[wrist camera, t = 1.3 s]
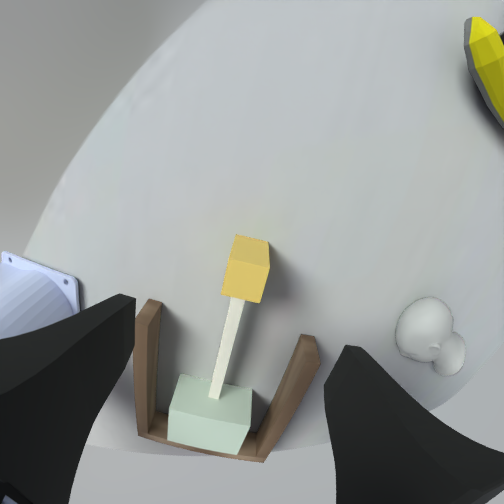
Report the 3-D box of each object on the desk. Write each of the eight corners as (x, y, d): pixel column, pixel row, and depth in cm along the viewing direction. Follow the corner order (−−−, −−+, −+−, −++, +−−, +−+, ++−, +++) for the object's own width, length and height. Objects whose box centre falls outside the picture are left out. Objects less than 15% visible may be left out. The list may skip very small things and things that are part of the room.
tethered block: (176, 407, 23) (167, 440, 20) (203, 226, 17) (188, 248, 14) (239, 421, 24) (236, 455, 20) (299, 249, 18) (309, 277, 14)
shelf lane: (146, 413, 24) (138, 435, 21) (148, 298, 19) (133, 321, 16) (263, 439, 24) (263, 462, 22) (314, 336, 20) (320, 363, 17)
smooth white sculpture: (378, 307, 20) (434, 274, 18) (417, 358, 22) (464, 334, 19) (381, 349, 17) (449, 314, 14) (421, 396, 18) (475, 371, 16)
